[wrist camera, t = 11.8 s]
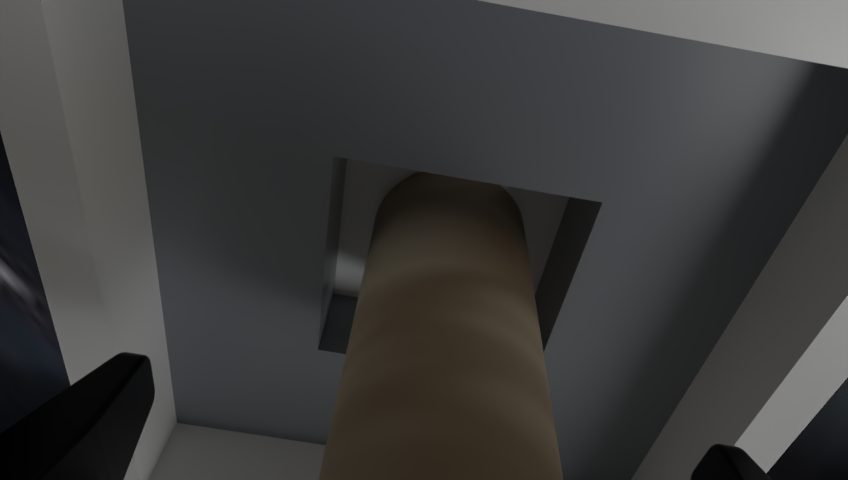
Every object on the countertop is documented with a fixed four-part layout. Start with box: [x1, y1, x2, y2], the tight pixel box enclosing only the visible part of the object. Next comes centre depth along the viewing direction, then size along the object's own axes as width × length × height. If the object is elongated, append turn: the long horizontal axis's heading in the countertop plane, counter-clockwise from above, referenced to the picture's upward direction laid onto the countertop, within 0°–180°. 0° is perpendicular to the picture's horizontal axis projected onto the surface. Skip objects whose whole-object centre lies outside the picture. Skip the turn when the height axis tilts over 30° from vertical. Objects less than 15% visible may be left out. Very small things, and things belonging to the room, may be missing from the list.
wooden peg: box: [319, 172, 563, 480], centre depth 11 cm, size 4×4×7 cm
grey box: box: [0, 0, 848, 480], centre depth 13 cm, size 14×14×5 cm
